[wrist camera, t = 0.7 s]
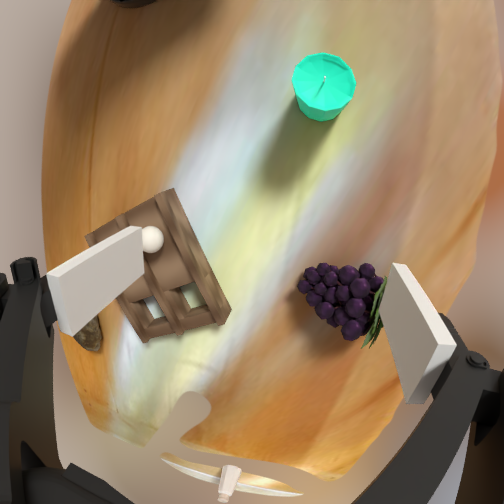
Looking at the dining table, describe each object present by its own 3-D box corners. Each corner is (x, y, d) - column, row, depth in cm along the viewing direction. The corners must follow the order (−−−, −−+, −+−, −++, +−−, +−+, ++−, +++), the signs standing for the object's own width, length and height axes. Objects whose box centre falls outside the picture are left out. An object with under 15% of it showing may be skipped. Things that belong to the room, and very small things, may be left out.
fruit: (317, 243, 42) (414, 275, 37) (297, 309, 45) (387, 341, 40) (301, 249, 33) (425, 292, 28) (275, 332, 35) (389, 373, 30)
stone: (57, 285, 50) (53, 306, 43) (93, 281, 53) (93, 302, 47) (70, 336, 54) (70, 359, 48) (103, 332, 58) (106, 355, 51)
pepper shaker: (219, 464, 63) (208, 496, 53) (237, 464, 62) (227, 498, 52) (227, 473, 65) (217, 504, 55) (245, 473, 63) (236, 505, 53)
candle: (312, 129, 34) (313, 120, 23) (287, 90, 33) (277, 64, 22) (352, 109, 33) (371, 92, 21) (328, 70, 31) (335, 37, 20)
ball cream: (141, 228, 40) (128, 236, 37) (161, 219, 39) (148, 226, 36) (152, 251, 41) (140, 260, 38) (172, 242, 40) (160, 251, 37)
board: (100, 228, 45) (84, 236, 41) (173, 188, 40) (159, 192, 37) (153, 329, 50) (142, 343, 46) (231, 309, 45) (224, 324, 41)
